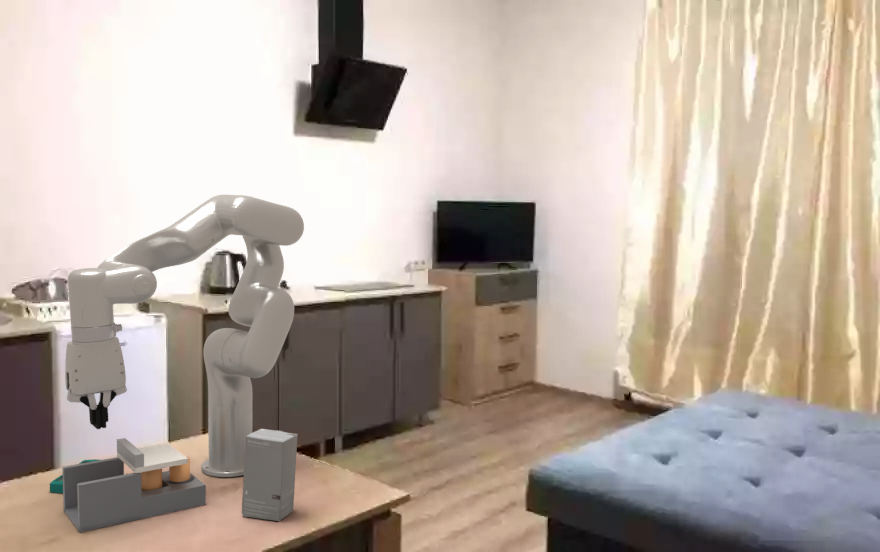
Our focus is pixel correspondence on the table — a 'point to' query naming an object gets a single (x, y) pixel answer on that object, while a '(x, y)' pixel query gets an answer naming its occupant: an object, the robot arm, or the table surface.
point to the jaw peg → (151, 479)
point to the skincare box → (269, 474)
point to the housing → (124, 494)
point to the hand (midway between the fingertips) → (99, 426)
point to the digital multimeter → (57, 484)
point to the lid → (148, 456)
